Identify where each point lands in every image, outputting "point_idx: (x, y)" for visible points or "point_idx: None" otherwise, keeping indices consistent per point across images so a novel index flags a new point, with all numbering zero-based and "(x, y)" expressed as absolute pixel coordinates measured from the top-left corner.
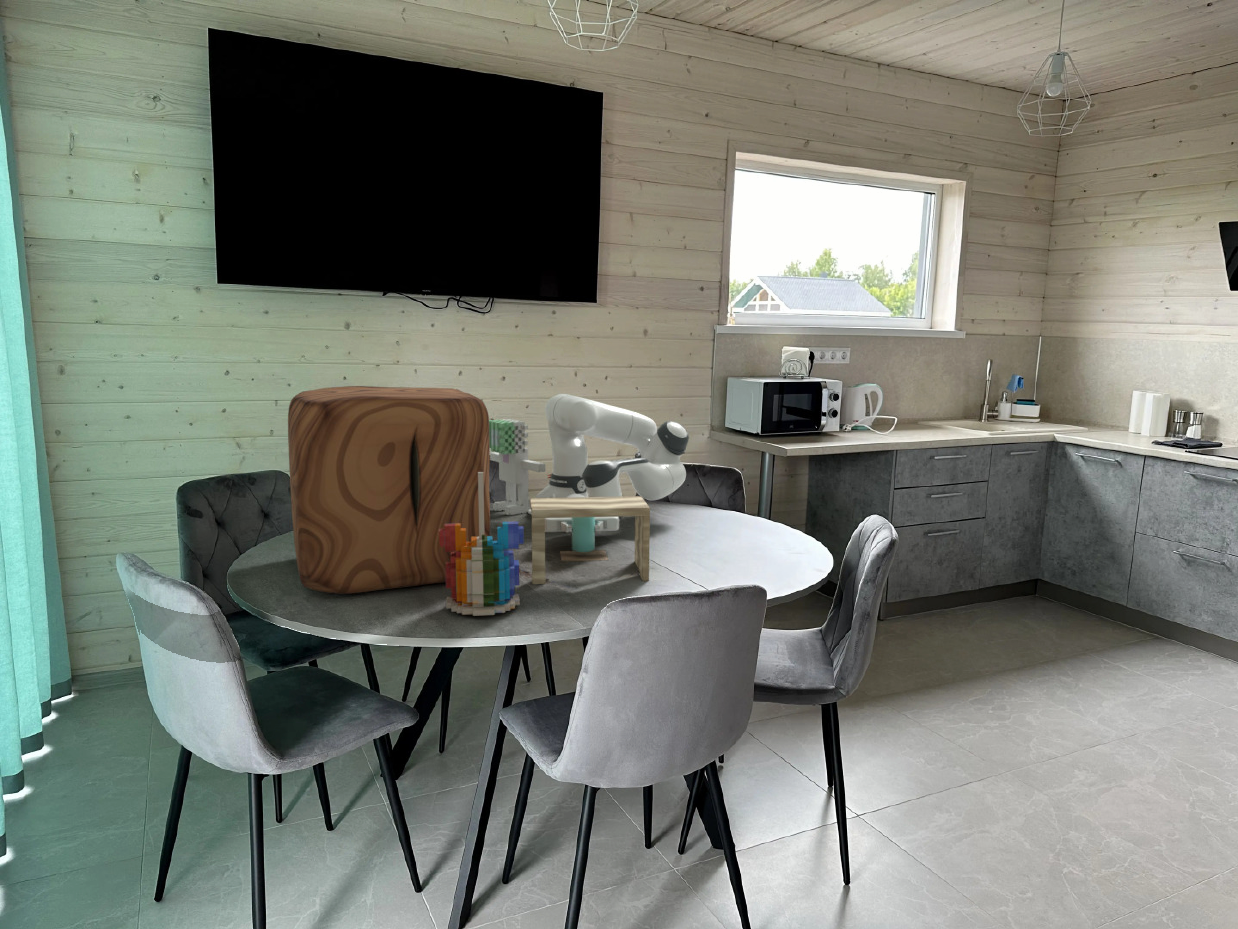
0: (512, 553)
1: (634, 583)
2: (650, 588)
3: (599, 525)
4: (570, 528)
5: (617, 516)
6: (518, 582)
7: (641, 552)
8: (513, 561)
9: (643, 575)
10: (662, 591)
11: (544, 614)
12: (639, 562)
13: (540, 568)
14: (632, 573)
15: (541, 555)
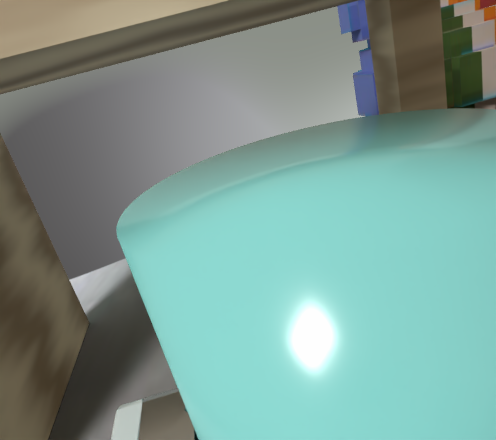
0: (368, 50)
1: (123, 301)
2: (93, 286)
3: (127, 404)
4: None
5: (90, 70)
6: (359, 109)
7: (40, 261)
8: (361, 64)
9: (80, 308)
10: (73, 280)
11: None
12: (49, 335)
13: None
14: (93, 381)
15: None
